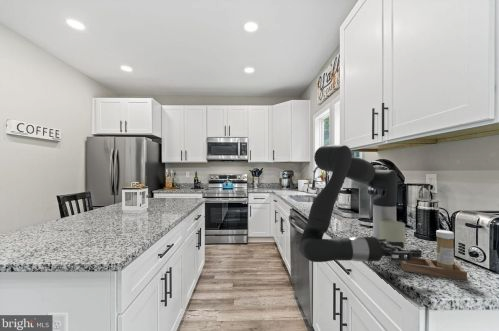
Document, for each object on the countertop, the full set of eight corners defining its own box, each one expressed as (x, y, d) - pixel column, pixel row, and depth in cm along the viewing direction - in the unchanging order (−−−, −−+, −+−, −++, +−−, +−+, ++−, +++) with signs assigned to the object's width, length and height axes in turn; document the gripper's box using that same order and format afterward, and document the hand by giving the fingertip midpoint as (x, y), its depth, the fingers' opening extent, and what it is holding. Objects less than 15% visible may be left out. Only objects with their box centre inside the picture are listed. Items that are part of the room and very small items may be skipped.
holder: (399, 262, 89) (399, 255, 89) (456, 269, 82) (456, 262, 82) (403, 270, 81) (403, 263, 81) (467, 280, 74) (466, 272, 74)
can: (392, 246, 107) (392, 218, 107) (411, 253, 98) (410, 223, 98) (374, 247, 105) (374, 219, 105) (391, 255, 96) (391, 224, 96)
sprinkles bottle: (437, 268, 83) (437, 228, 83) (454, 272, 80) (454, 231, 80) (435, 272, 80) (435, 231, 80) (453, 276, 77) (453, 233, 77)
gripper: (373, 244, 72) (427, 244, 73) (352, 231, 87) (397, 231, 87) (373, 269, 72) (427, 269, 73) (352, 253, 87) (397, 253, 87)
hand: (411, 249), depth 80 cm, fingers open, 8 cm apart
